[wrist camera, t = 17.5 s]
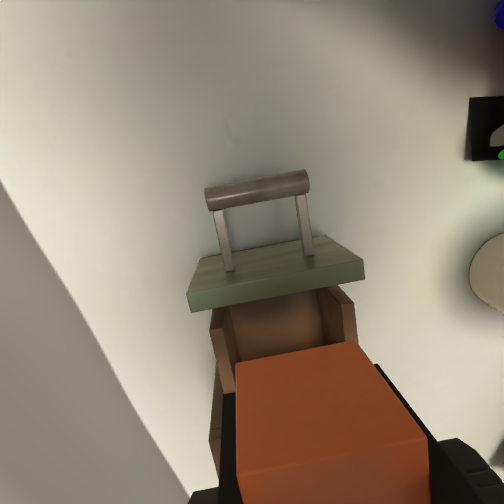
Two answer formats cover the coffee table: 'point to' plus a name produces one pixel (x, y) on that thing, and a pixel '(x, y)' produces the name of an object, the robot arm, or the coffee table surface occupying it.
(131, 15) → the coffee table surface
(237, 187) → the drawer
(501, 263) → the coffee cup
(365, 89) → the coffee table surface
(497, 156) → the toy figure
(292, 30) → the coffee table surface
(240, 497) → the robot arm
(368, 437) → the block
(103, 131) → the coffee table surface
